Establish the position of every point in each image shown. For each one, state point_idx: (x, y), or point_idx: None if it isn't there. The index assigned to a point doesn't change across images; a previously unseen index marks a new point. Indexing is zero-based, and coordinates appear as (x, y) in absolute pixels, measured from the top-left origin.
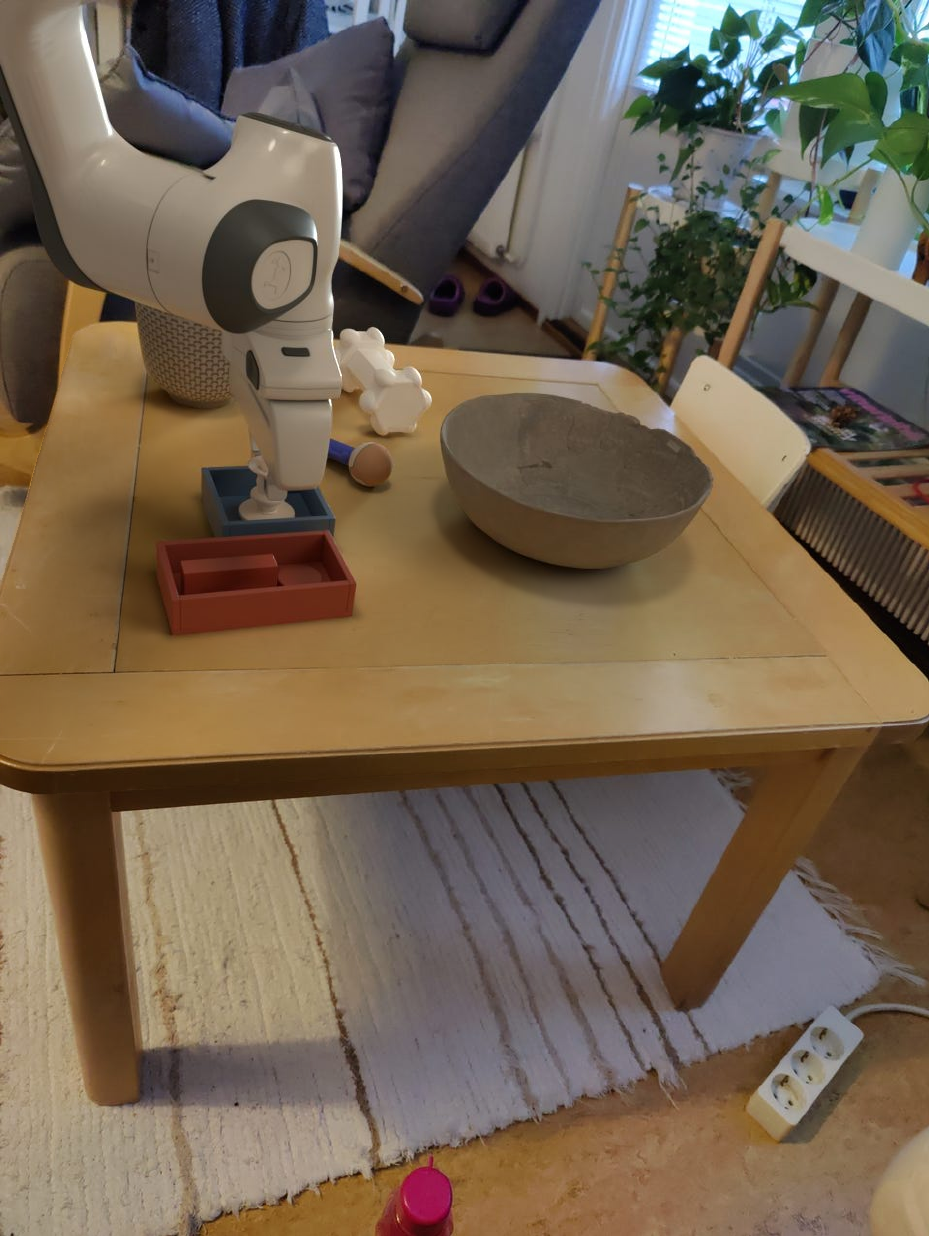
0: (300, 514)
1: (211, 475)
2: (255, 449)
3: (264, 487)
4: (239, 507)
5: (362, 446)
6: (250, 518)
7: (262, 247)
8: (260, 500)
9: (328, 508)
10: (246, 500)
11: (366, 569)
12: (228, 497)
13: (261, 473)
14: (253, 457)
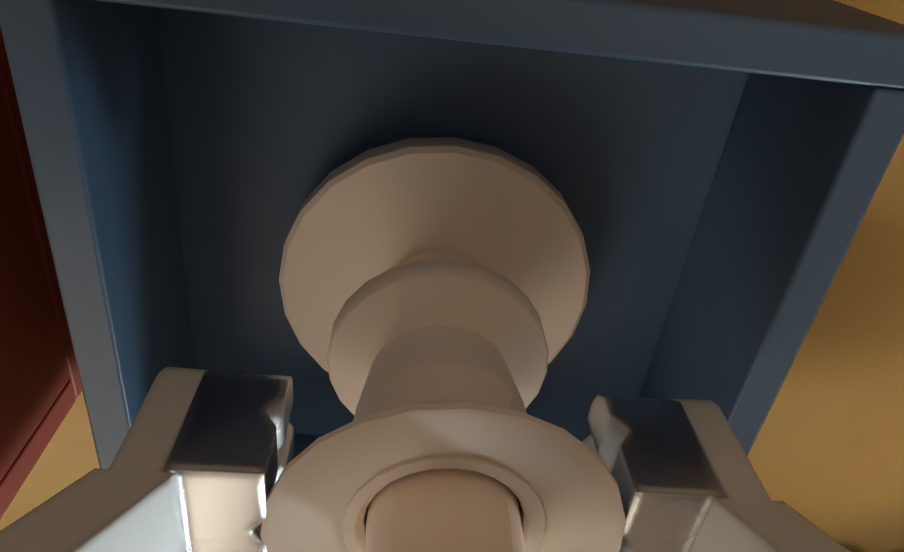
0: None
1: (838, 93)
2: (718, 524)
3: (257, 401)
4: (507, 165)
5: None
6: (368, 188)
7: None
8: (360, 304)
9: None
10: (567, 225)
11: (48, 489)
12: (712, 145)
13: (318, 465)
14: (665, 462)
